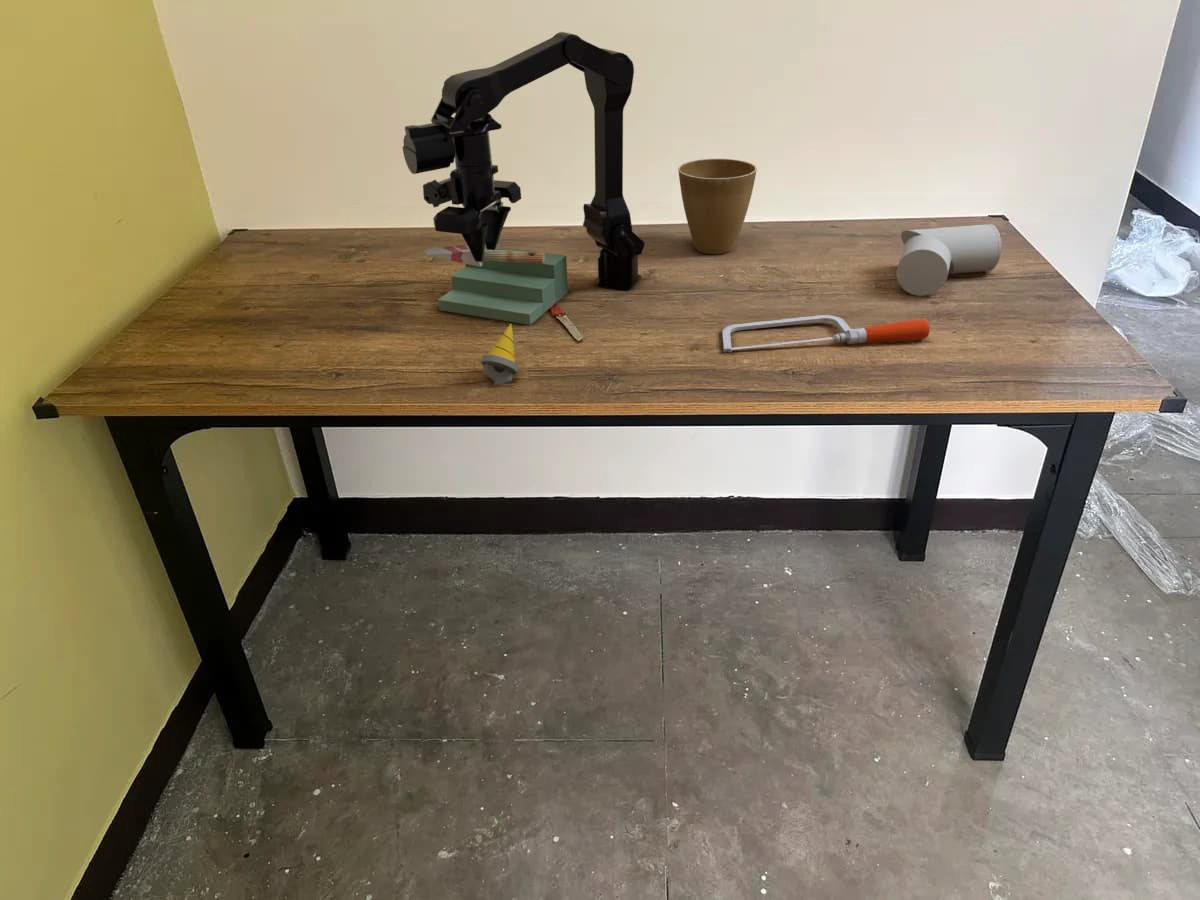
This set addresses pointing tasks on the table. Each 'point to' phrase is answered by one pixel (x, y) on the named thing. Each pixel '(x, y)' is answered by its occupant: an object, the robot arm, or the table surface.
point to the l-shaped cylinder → (945, 255)
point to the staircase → (508, 288)
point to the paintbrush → (484, 255)
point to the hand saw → (852, 336)
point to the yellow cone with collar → (501, 359)
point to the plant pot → (716, 201)
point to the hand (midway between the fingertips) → (485, 256)
